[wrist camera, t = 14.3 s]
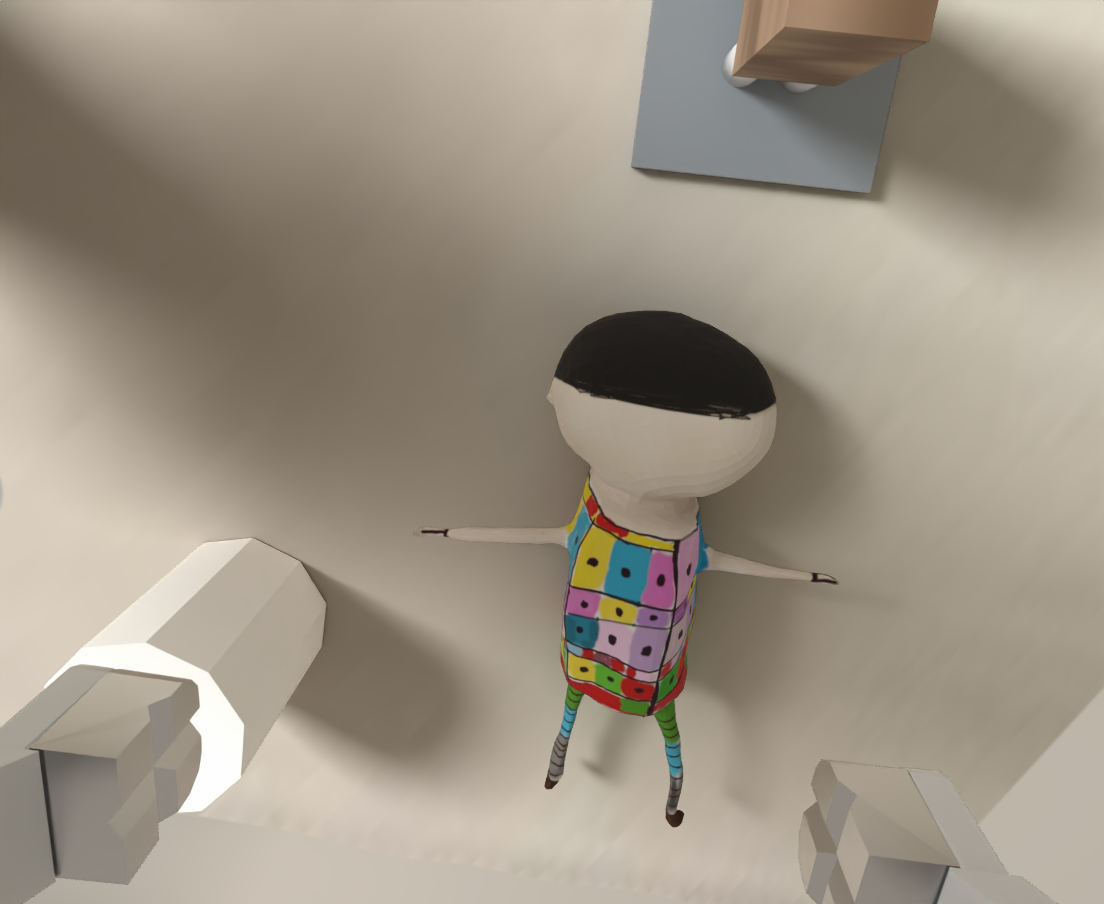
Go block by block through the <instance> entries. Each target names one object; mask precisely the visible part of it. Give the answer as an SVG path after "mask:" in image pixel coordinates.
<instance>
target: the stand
mask: <svg viewBox="0 0 1104 904" xmlns="http://www.w3.org/2000/svg"><path fill="white" fill-rule="evenodd" d="M743 4H744V0H653V3H652V11H651V19H650V26H649V34H648V42H647V49H646V57H645V65H644V72H643V80H642V88H641V95H640V103H639V111H638V118H637V126H636V134H635V141H634V149H633V157H632V164H631V167H633V168H642V169H651V170H660V171H669V172H678V173H687V174H696V175H705V176H715V177H724V178H733V179H742V180H751V181H760V182H769V183H778V184H787V185H796V186H805V187H814V188H823V189H832V190H841V191H850V192H859V193H870V192H871V188H872V183H873V179H874V174H875V170H876V166H877V161H878V157H879V152H880V148H881V143H882V139H883V134H884V130H885V126H886V121H887V117H888V112H889V108H890V103H891V99H892V95H893V90H894V86H895V81H896V77H897V72H898V68H899V63H900V59H901V55H900V56H898V57H895V58H893V59H891V60H889V61H887V62H885V63H883V64H881V65H879V66H877V67H875V68H873V69H871V70H869V71H866V72H864V73H862V74H860V75H858V76H856V77H854V78H852V79H850V80H848V81H846V82H844V83H842V84H840V85H838V86H835V87H832V86H823V85H813V84H803V83H794V82H784V81H775V80H765V79H756V78H746V77H736V76H732V72H733V66H734V60H735V53H736V47H737V41H738V35H739V28H740V22H741V16H742V10H743Z"/></svg>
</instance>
